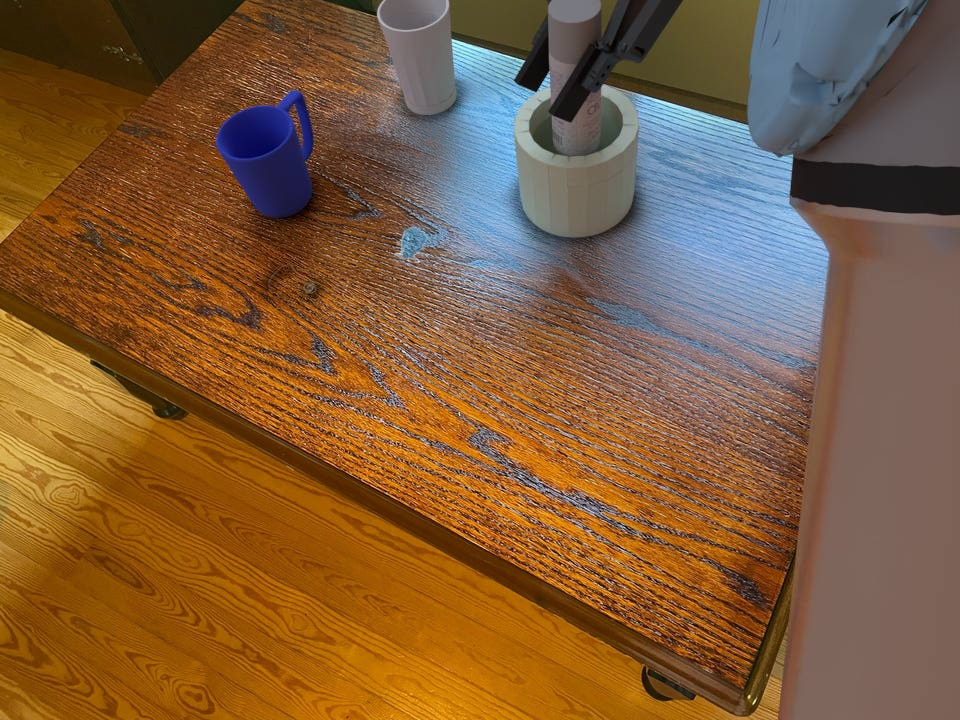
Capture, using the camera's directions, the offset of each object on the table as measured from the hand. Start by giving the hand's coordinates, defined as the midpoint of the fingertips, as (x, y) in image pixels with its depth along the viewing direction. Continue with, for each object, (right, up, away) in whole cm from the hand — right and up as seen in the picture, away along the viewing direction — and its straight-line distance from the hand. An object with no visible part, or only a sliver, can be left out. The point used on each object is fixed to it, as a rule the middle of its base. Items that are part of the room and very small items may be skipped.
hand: (542, 101), depth 71 cm
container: (+4, -2, +7) cm, 8 cm away
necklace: (-25, -16, +11) cm, 32 cm away
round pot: (+5, -6, +13) cm, 15 cm away
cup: (-12, +8, +24) cm, 28 cm away
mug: (-27, -4, +19) cm, 33 cm away
